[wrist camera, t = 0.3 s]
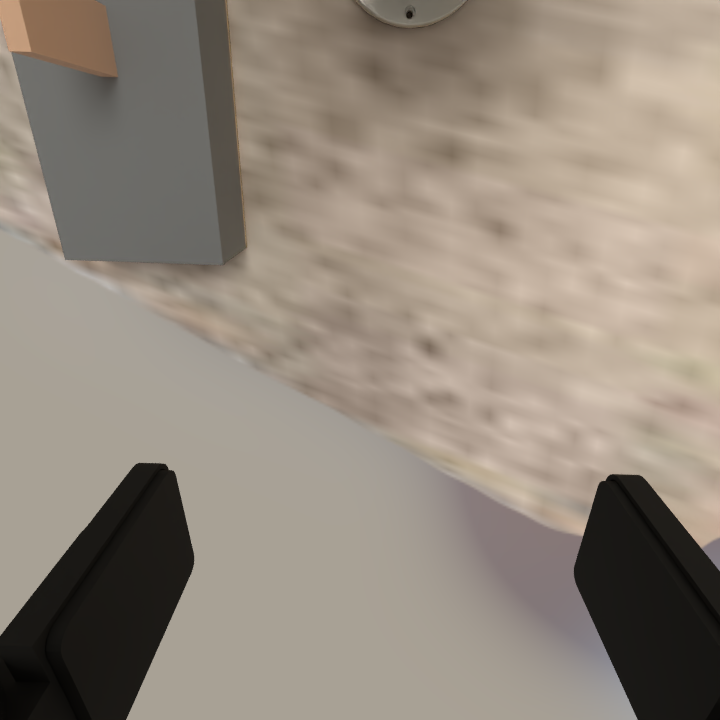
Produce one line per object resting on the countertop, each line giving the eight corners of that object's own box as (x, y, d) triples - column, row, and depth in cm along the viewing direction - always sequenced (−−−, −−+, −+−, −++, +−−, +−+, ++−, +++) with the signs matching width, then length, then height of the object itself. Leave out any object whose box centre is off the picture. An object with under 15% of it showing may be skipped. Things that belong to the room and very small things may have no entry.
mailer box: (63, -14, 35) (-7, -51, 29) (225, -11, 35) (191, -48, 28) (116, 242, 43) (71, 258, 37) (247, 247, 43) (224, 263, 37)
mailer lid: (2, -58, 29) (-174, -157, 20) (198, -55, 29) (112, -154, 20) (78, 255, 38) (-19, 288, 29) (229, 260, 38) (181, 295, 28)
